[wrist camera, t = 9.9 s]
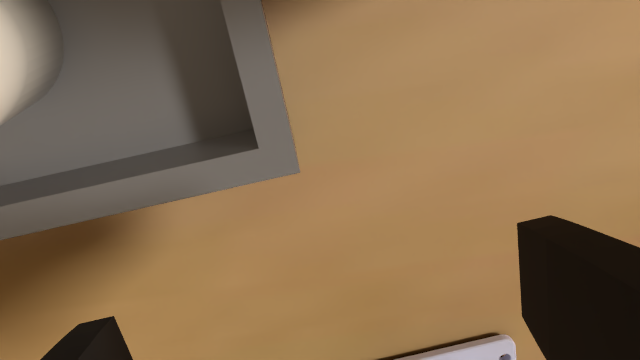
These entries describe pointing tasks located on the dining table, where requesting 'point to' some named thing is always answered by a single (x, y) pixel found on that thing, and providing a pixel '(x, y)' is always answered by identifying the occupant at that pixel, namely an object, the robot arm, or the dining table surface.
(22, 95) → the salt shaker
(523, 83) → the dining table surface
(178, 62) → the tray
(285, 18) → the dining table surface
